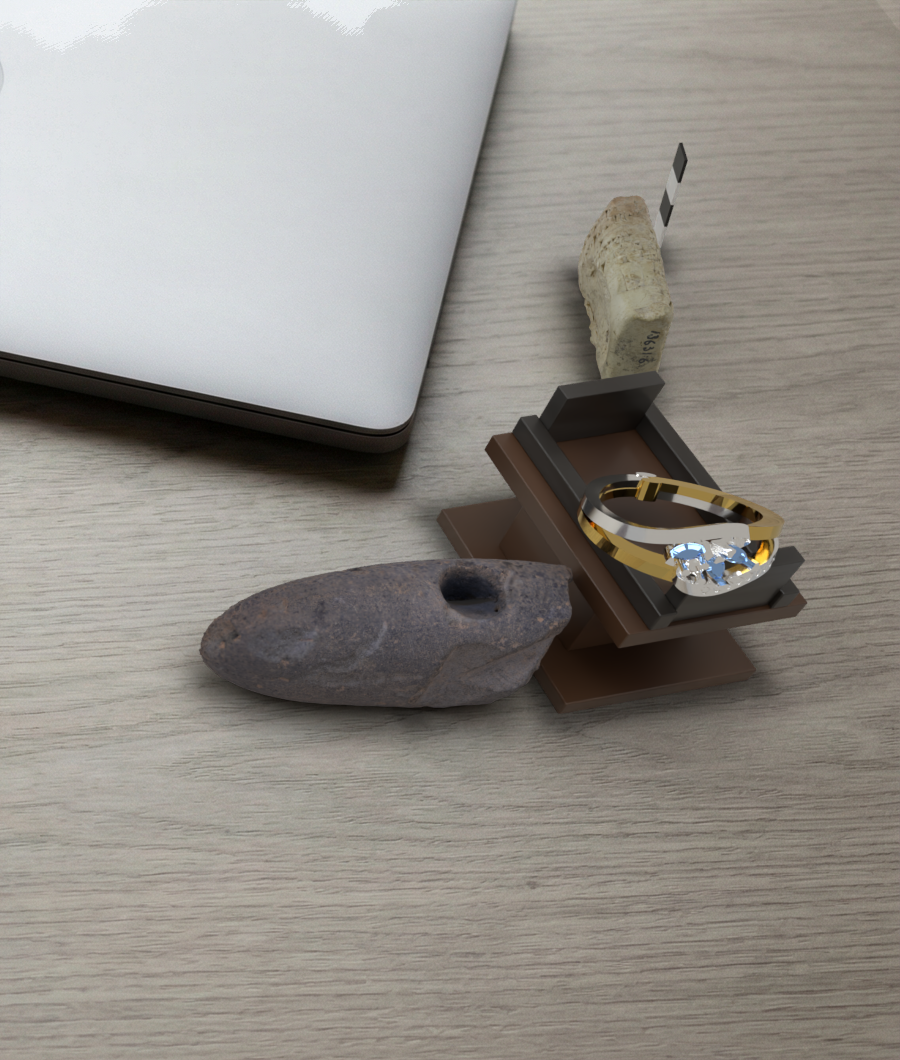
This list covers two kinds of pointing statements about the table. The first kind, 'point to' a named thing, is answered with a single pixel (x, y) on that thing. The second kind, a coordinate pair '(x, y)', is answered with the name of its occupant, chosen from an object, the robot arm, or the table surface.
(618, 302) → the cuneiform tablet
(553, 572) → the perforated stone tool
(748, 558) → the ring
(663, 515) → the stand
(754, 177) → the table surface
